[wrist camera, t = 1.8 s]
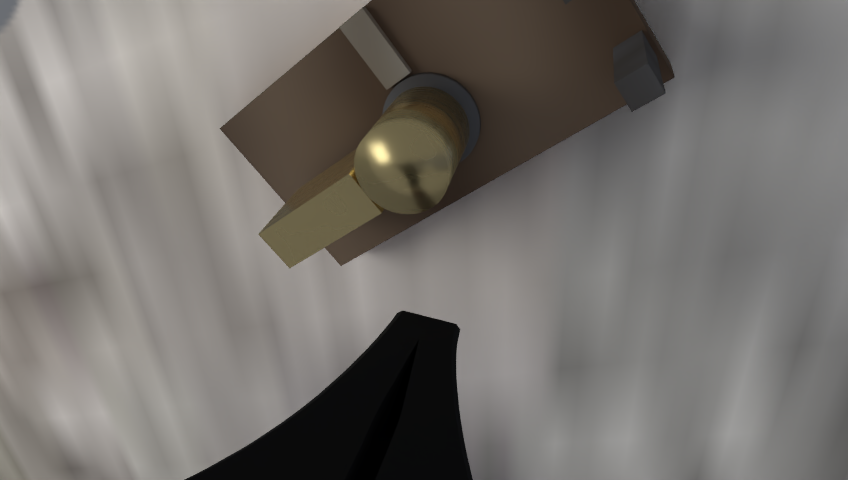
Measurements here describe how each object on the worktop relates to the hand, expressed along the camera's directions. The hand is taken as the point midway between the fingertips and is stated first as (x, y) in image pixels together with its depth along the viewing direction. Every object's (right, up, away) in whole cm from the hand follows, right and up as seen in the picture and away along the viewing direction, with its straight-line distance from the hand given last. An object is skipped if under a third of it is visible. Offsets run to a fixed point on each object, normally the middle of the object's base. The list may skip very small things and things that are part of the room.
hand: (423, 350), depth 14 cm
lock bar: (-1, +5, +3) cm, 6 cm away
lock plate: (0, +6, +3) cm, 7 cm away
